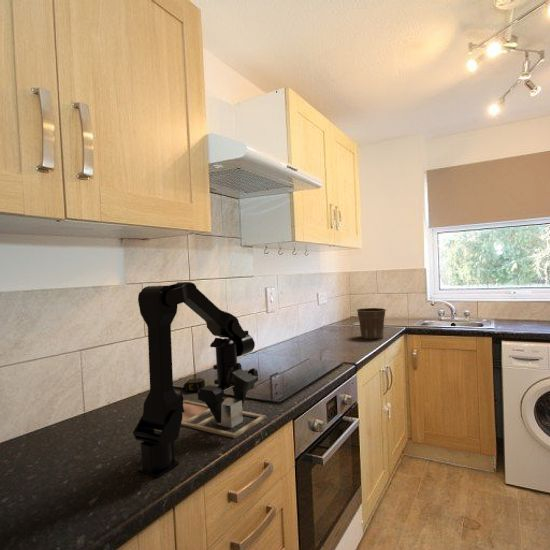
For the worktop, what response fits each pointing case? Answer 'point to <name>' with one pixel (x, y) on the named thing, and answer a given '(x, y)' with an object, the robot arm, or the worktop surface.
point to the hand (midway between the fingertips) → (229, 416)
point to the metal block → (231, 412)
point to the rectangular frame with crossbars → (199, 409)
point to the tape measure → (194, 384)
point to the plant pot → (371, 322)
